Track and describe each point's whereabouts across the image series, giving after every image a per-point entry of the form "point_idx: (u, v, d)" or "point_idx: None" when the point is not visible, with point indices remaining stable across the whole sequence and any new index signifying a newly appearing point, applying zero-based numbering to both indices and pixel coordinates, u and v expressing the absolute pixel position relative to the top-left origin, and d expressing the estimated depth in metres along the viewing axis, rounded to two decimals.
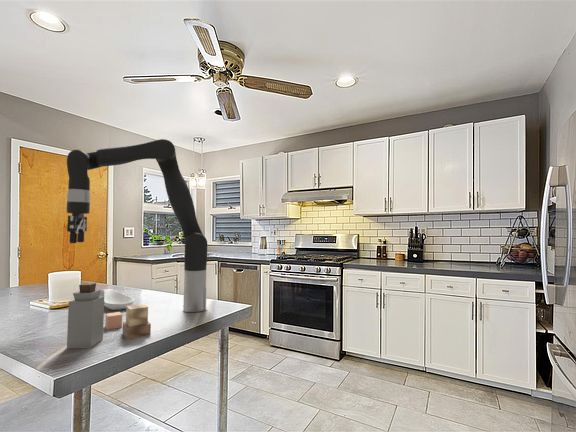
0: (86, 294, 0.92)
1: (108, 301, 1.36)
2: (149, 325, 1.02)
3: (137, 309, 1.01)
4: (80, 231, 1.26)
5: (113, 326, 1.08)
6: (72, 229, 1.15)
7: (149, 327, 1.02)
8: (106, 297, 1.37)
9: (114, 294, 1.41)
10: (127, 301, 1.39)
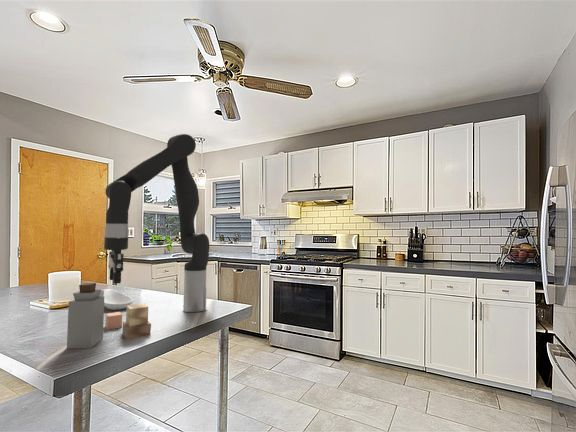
0: (86, 294, 0.92)
1: (107, 301, 1.36)
2: (149, 325, 1.02)
3: (137, 309, 1.01)
4: None
5: (113, 326, 1.08)
6: None
7: (149, 327, 1.02)
8: (105, 297, 1.37)
9: (114, 294, 1.41)
10: (126, 301, 1.39)
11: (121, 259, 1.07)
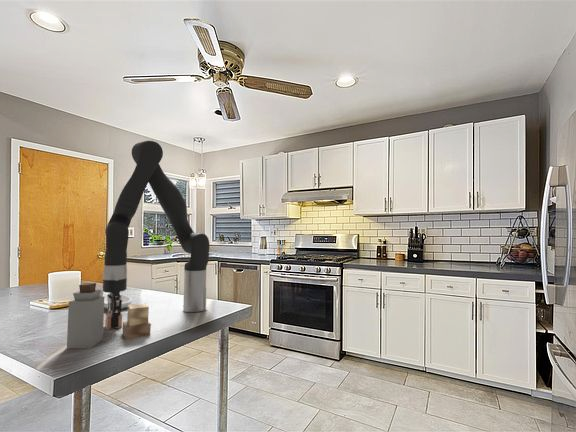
0: (86, 294, 0.92)
1: (106, 301, 1.36)
2: (149, 325, 1.02)
3: (137, 309, 1.01)
4: None
5: None
6: None
7: (149, 327, 1.02)
8: (104, 297, 1.37)
9: None
10: (125, 301, 1.39)
11: (119, 305, 1.06)
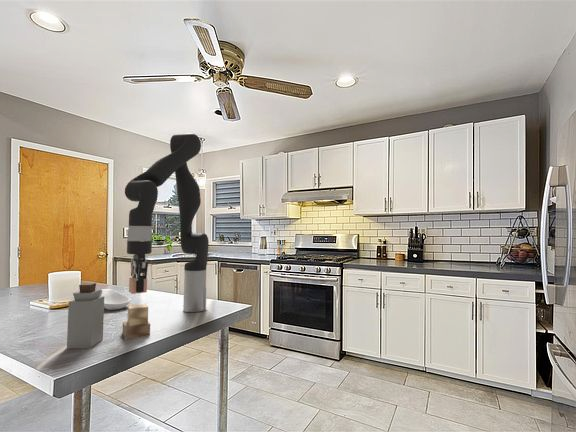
0: (86, 294, 0.92)
1: (105, 301, 1.37)
2: (148, 325, 1.02)
3: (137, 309, 1.01)
4: None
5: None
6: None
7: (148, 327, 1.02)
8: None
9: (112, 294, 1.41)
10: (124, 301, 1.39)
11: (145, 268, 0.99)
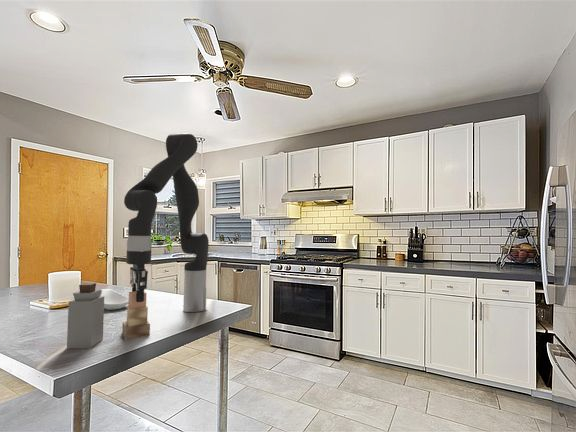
0: (86, 294, 0.92)
1: (104, 301, 1.37)
2: (148, 325, 1.02)
3: (136, 309, 1.00)
4: None
5: (137, 305, 1.01)
6: None
7: (148, 327, 1.02)
8: None
9: (112, 294, 1.41)
10: (123, 301, 1.39)
11: (145, 277, 0.99)
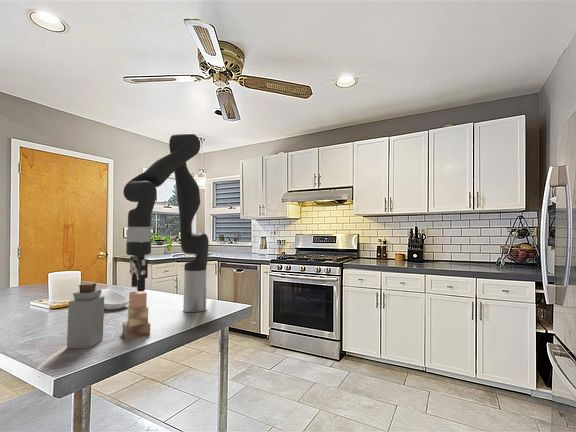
0: (86, 294, 0.92)
1: (104, 301, 1.37)
2: (149, 325, 1.02)
3: (137, 309, 1.00)
4: None
5: (137, 305, 1.01)
6: None
7: (149, 327, 1.02)
8: None
9: (111, 294, 1.41)
10: (123, 301, 1.39)
11: (145, 265, 0.99)
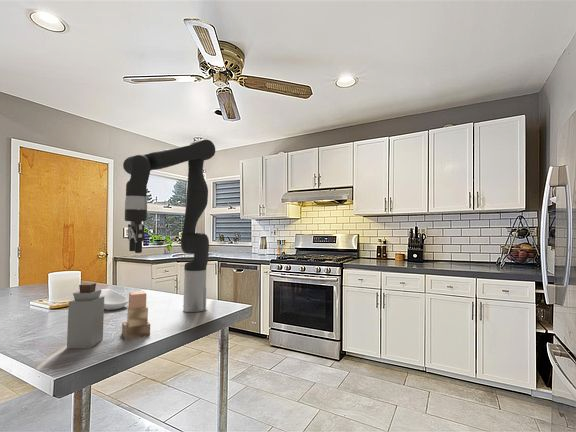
0: (86, 294, 0.92)
1: (104, 301, 1.37)
2: (149, 325, 1.02)
3: (136, 310, 1.00)
4: None
5: (136, 306, 1.01)
6: None
7: (148, 328, 1.02)
8: None
9: (111, 294, 1.41)
10: (122, 301, 1.39)
11: (142, 229, 1.11)
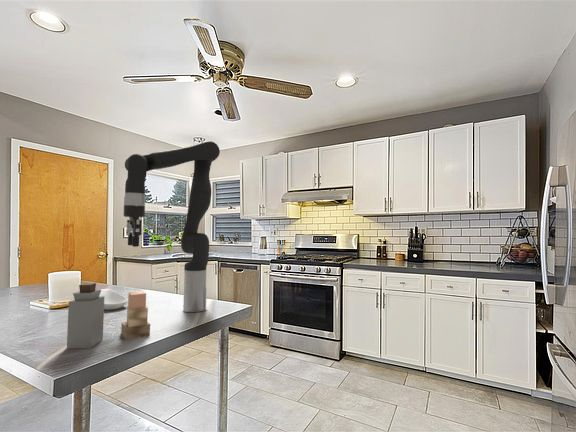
0: (86, 294, 0.92)
1: None
2: (148, 325, 1.02)
3: (136, 309, 1.00)
4: None
5: (136, 306, 1.00)
6: None
7: (148, 327, 1.02)
8: None
9: (110, 294, 1.41)
10: (122, 301, 1.39)
11: (139, 224, 1.18)
